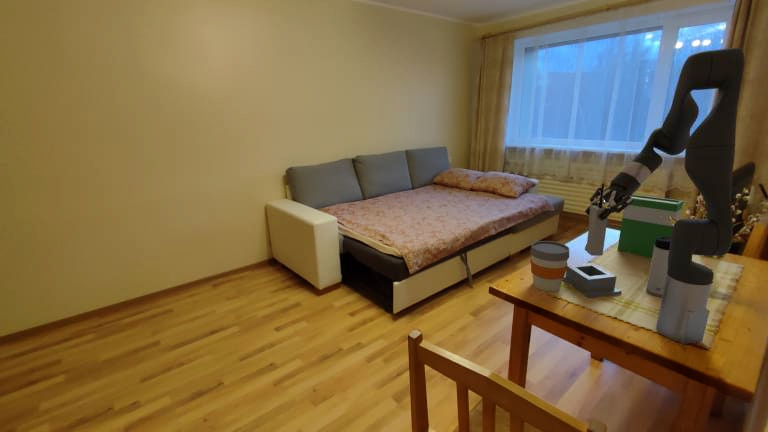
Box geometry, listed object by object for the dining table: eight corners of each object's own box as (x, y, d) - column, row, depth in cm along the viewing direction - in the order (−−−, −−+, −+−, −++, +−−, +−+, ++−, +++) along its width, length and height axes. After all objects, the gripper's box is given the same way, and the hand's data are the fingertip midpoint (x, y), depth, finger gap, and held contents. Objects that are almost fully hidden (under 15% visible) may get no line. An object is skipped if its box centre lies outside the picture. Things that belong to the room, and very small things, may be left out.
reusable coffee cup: (552, 297, 119) (556, 256, 115) (520, 284, 129) (523, 246, 125) (573, 286, 126) (577, 247, 121) (541, 274, 136) (544, 238, 131)
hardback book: (617, 250, 154) (625, 197, 148) (623, 245, 159) (631, 194, 152) (666, 261, 141) (678, 204, 134) (672, 256, 146) (683, 200, 139)
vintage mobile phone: (595, 250, 125) (604, 181, 118) (602, 255, 120) (612, 184, 113) (584, 250, 125) (592, 181, 118) (591, 255, 120) (600, 184, 113)
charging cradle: (621, 294, 119) (623, 279, 117) (589, 298, 118) (591, 282, 116) (588, 273, 134) (590, 260, 133) (559, 277, 133) (561, 263, 131)
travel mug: (660, 299, 115) (672, 242, 109) (641, 290, 121) (651, 235, 115) (675, 296, 116) (687, 239, 111) (655, 287, 122) (665, 233, 117)
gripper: (608, 168, 122) (572, 204, 124) (642, 174, 108) (602, 215, 110) (619, 182, 124) (585, 217, 126) (655, 190, 111) (615, 229, 113)
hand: (593, 216), depth 118 cm, fingers closed on vintage mobile phone, 5 cm apart
